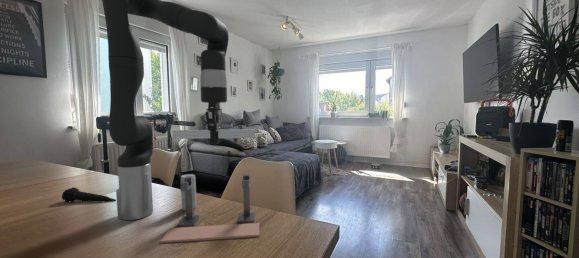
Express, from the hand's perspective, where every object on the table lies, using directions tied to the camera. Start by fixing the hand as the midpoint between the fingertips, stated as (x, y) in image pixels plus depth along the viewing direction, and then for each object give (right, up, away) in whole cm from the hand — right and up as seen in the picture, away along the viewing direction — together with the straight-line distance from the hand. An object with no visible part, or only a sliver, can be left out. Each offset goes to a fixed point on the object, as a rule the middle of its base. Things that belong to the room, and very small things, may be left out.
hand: (215, 143), depth 74 cm
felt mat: (+1, -25, -5) cm, 26 cm away
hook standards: (0, -25, +2) cm, 25 cm away
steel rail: (0, +2, 0) cm, 2 cm away
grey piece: (-13, -24, +13) cm, 30 cm away
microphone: (-55, -24, +19) cm, 63 cm away
